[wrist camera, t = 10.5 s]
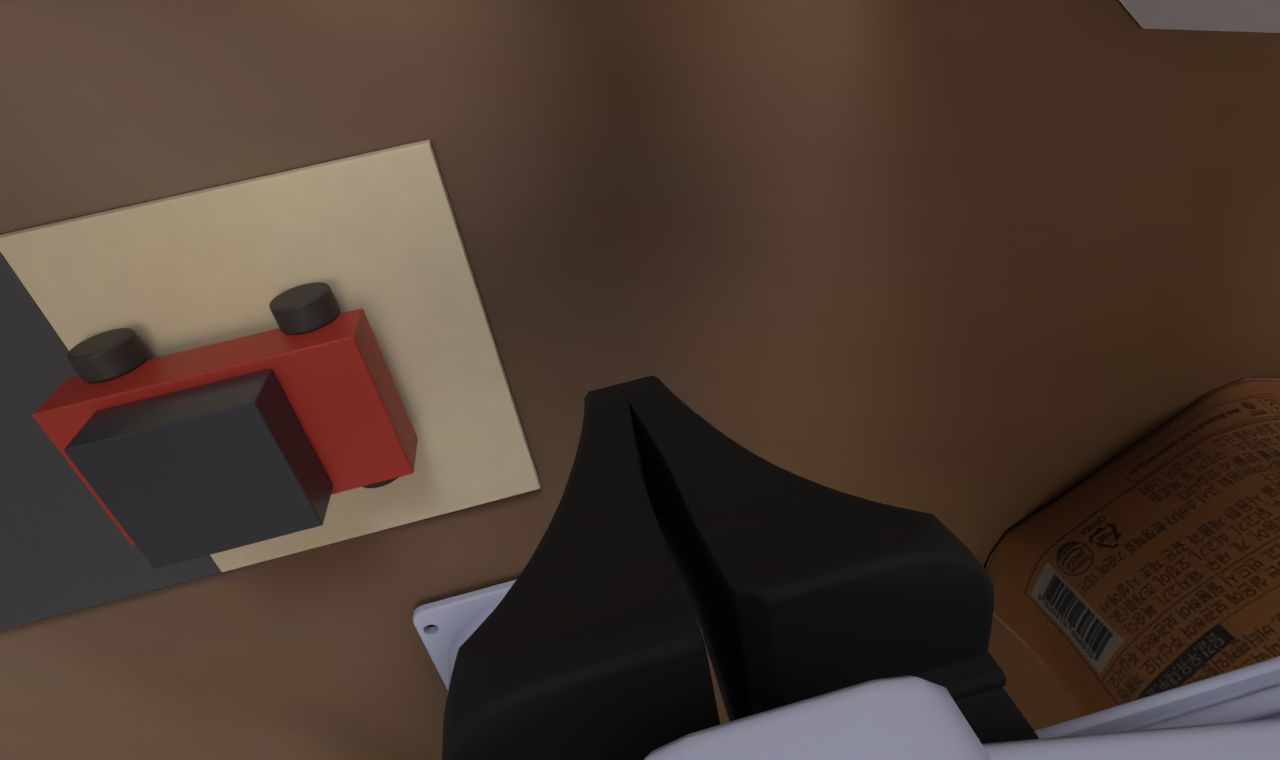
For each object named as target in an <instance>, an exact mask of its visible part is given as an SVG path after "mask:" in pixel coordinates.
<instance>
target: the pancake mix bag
mask: <svg viewBox="0 0 1280 760" xmlns="http://www.w3.org/2000/svg"><path fill="white" fill-rule="evenodd" d="M985 570H986V571H987V573H988V575H989V577H990V579H991V581H992V583H993V585H994V602H995V603H994V610H993V617H994V618H996V619H997V620H998V621H999V622H1000V623H1002V624H1003V625H1004V626H1005V627H1006V628H1007V629H1008V630H1009V631H1010V632H1012V633H1013V634H1014V635H1015V636H1016V637H1017V638H1018V639H1019V640H1021V641H1022V642H1023V643H1024V644H1025V645H1026V646H1027V648H1028V649H1029V650H1030V651H1031V652H1032V653H1033V654H1034V655H1035V656H1036V657H1037V658H1038V659H1039V660H1040V661H1041V663H1042V664H1043V665H1044V666H1045V667H1046V668H1047V669H1048V670H1049V672H1050V673H1051V674H1052V675H1053V676H1054V678H1055V679H1056V680H1057V681H1058V683H1059V684H1060V685H1061V686H1062V687H1063V689H1064V690H1065V691H1066V692H1067V694H1068V695H1069V696H1070V698H1071V699H1072V701H1073V702H1074V704H1075V705H1076V707H1077V708H1078V709H1079V711H1080V712H1081V714H1082V715H1083V716H1085V715H1089V714H1092V713H1095V712H1098V711H1102V710H1105V709H1108V708H1112V707H1115V706H1118V705H1121V704H1125V703H1128V702H1131V701H1134V700H1138V699H1141V698H1144V697H1148V696H1151V695H1154V694H1157V693H1161V692H1164V691H1167V690H1170V689H1174V688H1177V687H1180V686H1184V685H1187V684H1190V683H1193V682H1197V681H1200V680H1203V679H1207V678H1210V677H1213V676H1216V675H1220V674H1223V673H1226V672H1229V671H1233V670H1236V669H1239V668H1243V667H1246V666H1249V665H1252V664H1256V663H1259V662H1262V661H1265V660H1269V659H1272V658H1275V657H1279V656H1280V378H1245V379H1242V380H1240V381H1237V382H1234V383H1232V384H1229V385H1226V386H1224V387H1221V388H1218V389H1216V390H1213V391H1211V392H1209V393H1208V394H1207V395H1205V396H1204V397H1202V398H1201V399H1200V400H1198V401H1197V402H1195V403H1194V404H1193V405H1191V406H1190V407H1188V408H1187V409H1186V410H1184V411H1183V412H1181V413H1180V414H1179V415H1177V416H1176V417H1174V418H1173V419H1171V420H1170V421H1169V422H1167V423H1166V424H1164V425H1163V426H1162V427H1160V428H1159V429H1157V430H1156V431H1154V432H1153V433H1152V434H1150V435H1149V436H1147V437H1146V438H1144V439H1143V440H1141V441H1140V442H1139V443H1137V444H1136V445H1134V446H1133V447H1131V448H1130V449H1128V450H1127V451H1126V452H1124V453H1123V454H1121V455H1120V456H1118V457H1117V458H1116V459H1114V460H1113V461H1111V462H1110V463H1109V464H1107V465H1106V466H1104V467H1103V468H1102V469H1100V470H1099V471H1098V472H1096V473H1095V474H1093V475H1092V476H1091V477H1089V478H1088V479H1086V480H1085V481H1083V482H1082V483H1081V484H1079V485H1078V486H1076V487H1075V488H1073V489H1072V490H1071V491H1069V492H1068V493H1066V494H1065V495H1063V496H1062V497H1060V498H1059V499H1057V500H1056V501H1054V502H1053V503H1051V504H1049V505H1048V506H1046V507H1045V508H1043V509H1042V510H1040V511H1039V512H1037V513H1035V514H1034V515H1032V516H1031V517H1029V518H1028V519H1026V520H1025V521H1023V522H1022V523H1020V524H1019V525H1017V526H1015V527H1014V528H1012V529H1011V530H1009V531H1008V532H1007V533H1006V534H1005V536H1004V537H1003V539H1002V540H1001V541H1000V543H999V544H998V546H997V547H996V548H995V550H994V551H993V553H992V554H991V555H990V558H989V560H988V563H987V566H986V568H985Z"/></svg>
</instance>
